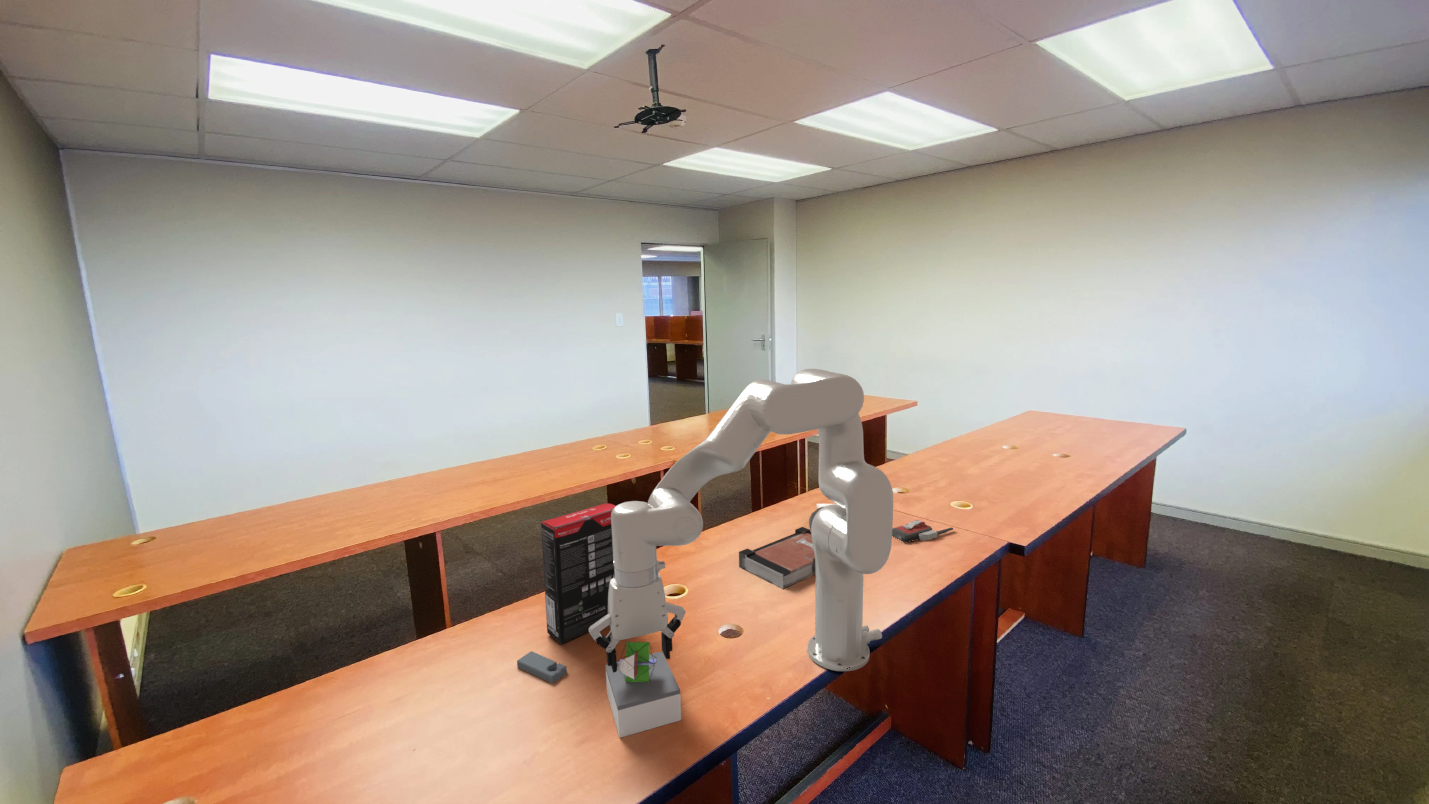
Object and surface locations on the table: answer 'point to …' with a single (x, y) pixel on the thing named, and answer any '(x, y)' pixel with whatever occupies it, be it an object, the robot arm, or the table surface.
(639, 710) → the grey stand
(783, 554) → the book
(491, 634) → the table surface
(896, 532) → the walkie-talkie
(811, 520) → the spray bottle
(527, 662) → the bracket
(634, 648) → the geometric puzzle
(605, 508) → the graphics card box
